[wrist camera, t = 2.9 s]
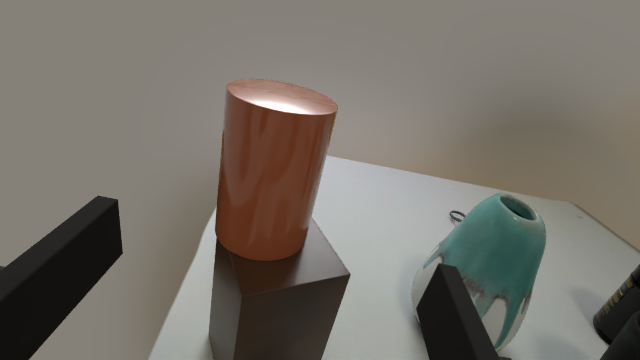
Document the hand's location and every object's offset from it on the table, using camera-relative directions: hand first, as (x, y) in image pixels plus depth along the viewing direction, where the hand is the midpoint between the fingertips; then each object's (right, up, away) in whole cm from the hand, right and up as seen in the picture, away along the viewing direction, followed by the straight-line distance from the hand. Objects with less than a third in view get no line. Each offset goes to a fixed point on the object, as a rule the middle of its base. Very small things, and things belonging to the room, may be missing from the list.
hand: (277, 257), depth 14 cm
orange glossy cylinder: (-3, -1, +13) cm, 13 cm away
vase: (+17, -15, +26) cm, 35 cm away
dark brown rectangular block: (-4, -14, +18) cm, 23 cm away
